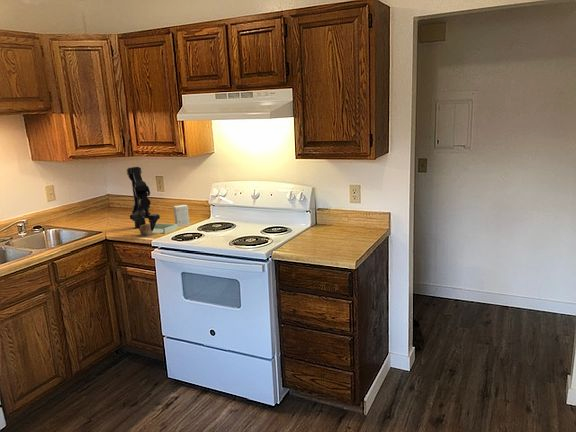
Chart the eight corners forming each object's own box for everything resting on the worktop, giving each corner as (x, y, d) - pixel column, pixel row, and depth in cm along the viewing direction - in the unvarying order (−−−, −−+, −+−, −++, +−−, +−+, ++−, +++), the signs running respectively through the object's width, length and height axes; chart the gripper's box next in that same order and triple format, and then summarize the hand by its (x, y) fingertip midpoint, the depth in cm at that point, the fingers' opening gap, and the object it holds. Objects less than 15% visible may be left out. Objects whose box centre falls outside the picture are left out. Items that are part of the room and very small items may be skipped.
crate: (142, 232, 294) (141, 227, 294) (155, 227, 305) (154, 223, 304) (165, 233, 286) (164, 228, 286) (178, 229, 297) (177, 224, 296)
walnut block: (140, 235, 284) (139, 225, 283) (146, 233, 288) (145, 224, 287) (147, 235, 282) (146, 226, 281) (152, 233, 286) (151, 224, 285)
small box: (187, 223, 312) (185, 204, 309) (189, 225, 306) (187, 205, 304) (175, 225, 309) (173, 206, 306) (177, 227, 303) (175, 207, 300)
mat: (135, 236, 283) (135, 236, 283) (145, 233, 291) (145, 232, 291) (148, 237, 279) (148, 237, 279) (158, 234, 287) (158, 233, 287)
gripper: (121, 207, 278) (125, 233, 282) (145, 208, 270) (149, 234, 273) (135, 203, 288) (138, 228, 291) (158, 204, 280) (161, 230, 283)
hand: (146, 230), depth 285 cm, fingers open, 9 cm apart
